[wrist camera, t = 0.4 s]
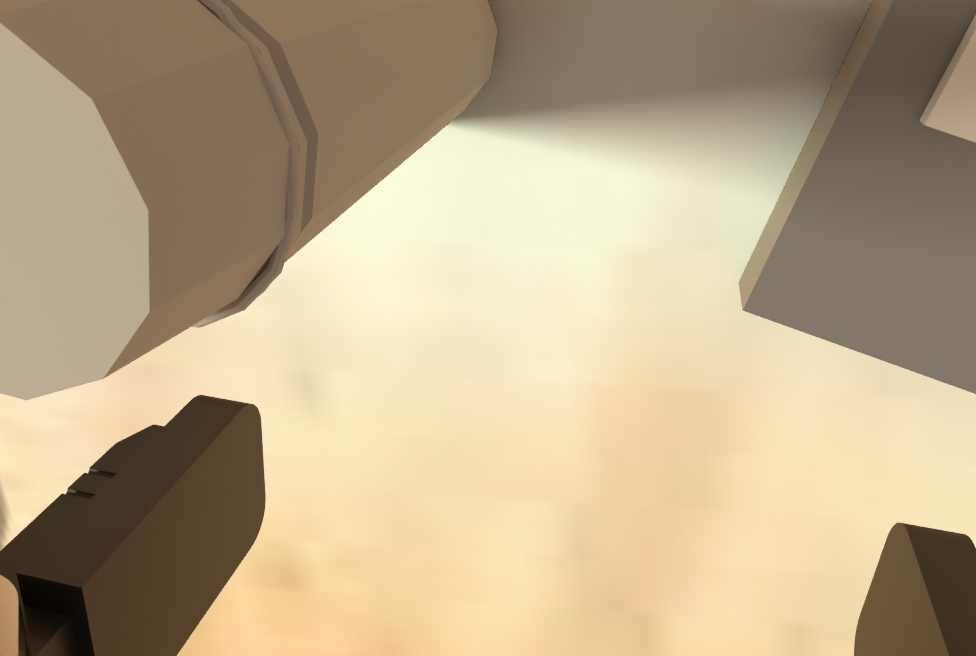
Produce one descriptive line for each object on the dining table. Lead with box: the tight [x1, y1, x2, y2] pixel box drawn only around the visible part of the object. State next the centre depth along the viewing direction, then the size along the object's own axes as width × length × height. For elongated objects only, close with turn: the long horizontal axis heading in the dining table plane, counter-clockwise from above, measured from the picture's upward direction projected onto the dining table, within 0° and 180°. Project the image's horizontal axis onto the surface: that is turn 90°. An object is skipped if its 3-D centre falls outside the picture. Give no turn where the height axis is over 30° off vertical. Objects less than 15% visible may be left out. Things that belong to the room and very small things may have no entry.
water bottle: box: [0, 0, 498, 400], centre depth 25 cm, size 9×8×25 cm
